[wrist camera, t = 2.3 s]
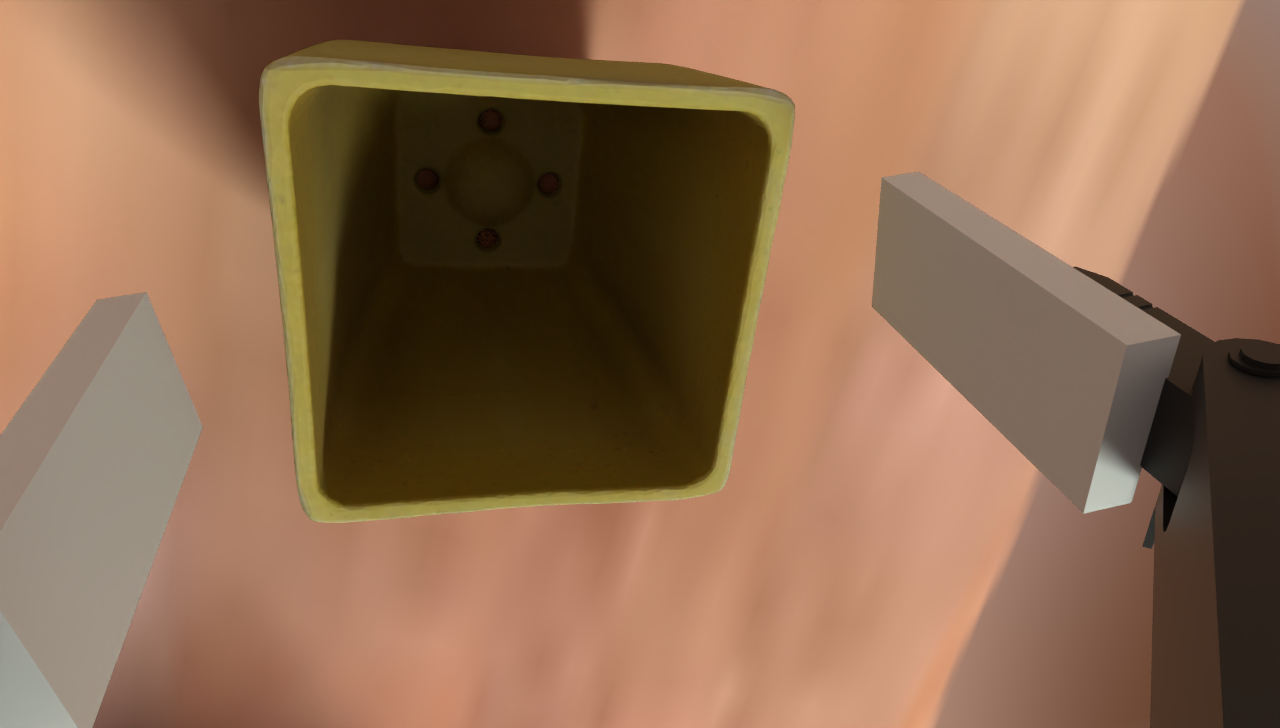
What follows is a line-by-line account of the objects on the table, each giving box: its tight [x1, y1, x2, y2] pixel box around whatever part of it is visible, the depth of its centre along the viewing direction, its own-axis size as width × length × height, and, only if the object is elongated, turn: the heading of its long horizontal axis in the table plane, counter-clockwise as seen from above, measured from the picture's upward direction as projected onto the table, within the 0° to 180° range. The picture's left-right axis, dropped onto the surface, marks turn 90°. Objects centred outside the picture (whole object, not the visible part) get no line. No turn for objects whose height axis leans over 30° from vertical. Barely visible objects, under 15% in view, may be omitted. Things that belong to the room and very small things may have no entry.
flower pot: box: [259, 40, 795, 523], centre depth 19 cm, size 9×9×9 cm
